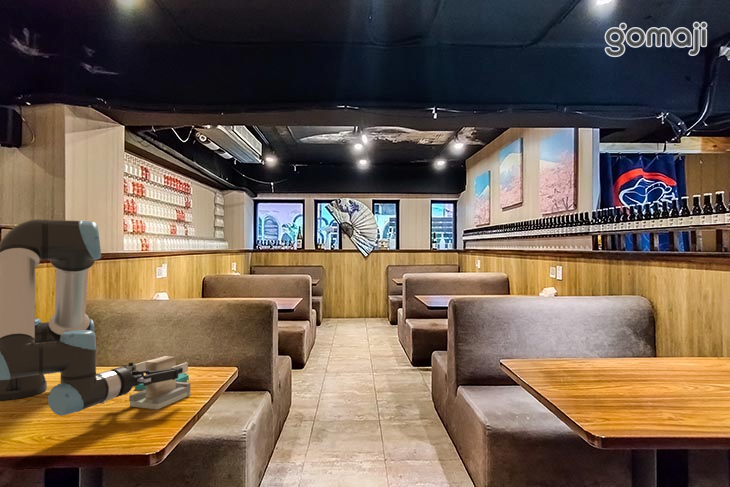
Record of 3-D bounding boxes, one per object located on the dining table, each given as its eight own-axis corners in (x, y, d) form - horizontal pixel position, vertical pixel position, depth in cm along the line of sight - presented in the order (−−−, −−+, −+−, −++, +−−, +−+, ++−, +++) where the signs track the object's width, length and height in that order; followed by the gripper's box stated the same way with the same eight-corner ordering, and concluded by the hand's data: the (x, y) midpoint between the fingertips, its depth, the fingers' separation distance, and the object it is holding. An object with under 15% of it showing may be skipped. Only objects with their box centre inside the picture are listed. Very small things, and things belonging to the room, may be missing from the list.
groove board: (129, 406, 135) (129, 393, 135) (164, 392, 149) (164, 380, 149) (158, 409, 132) (158, 396, 132) (191, 395, 145) (191, 382, 145)
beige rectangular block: (145, 398, 137) (145, 361, 137) (165, 391, 145) (165, 355, 145) (156, 400, 136) (156, 362, 136) (175, 392, 143) (175, 356, 144)
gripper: (76, 394, 127) (137, 374, 147) (148, 402, 119) (202, 380, 140) (76, 367, 127) (137, 351, 148) (148, 373, 120) (202, 355, 140)
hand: (168, 365), depth 144 cm, fingers open, 13 cm apart
